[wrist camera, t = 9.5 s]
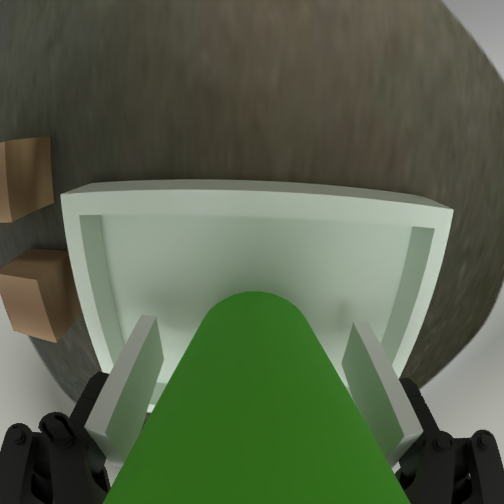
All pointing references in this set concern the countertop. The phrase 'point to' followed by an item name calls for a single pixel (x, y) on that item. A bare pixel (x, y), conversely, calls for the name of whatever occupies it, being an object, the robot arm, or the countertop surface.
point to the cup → (255, 420)
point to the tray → (252, 259)
